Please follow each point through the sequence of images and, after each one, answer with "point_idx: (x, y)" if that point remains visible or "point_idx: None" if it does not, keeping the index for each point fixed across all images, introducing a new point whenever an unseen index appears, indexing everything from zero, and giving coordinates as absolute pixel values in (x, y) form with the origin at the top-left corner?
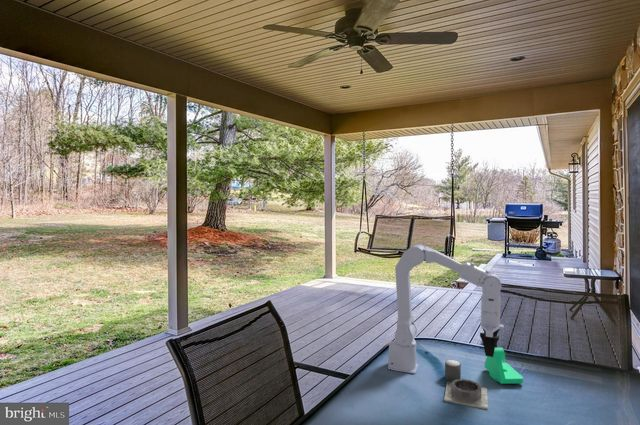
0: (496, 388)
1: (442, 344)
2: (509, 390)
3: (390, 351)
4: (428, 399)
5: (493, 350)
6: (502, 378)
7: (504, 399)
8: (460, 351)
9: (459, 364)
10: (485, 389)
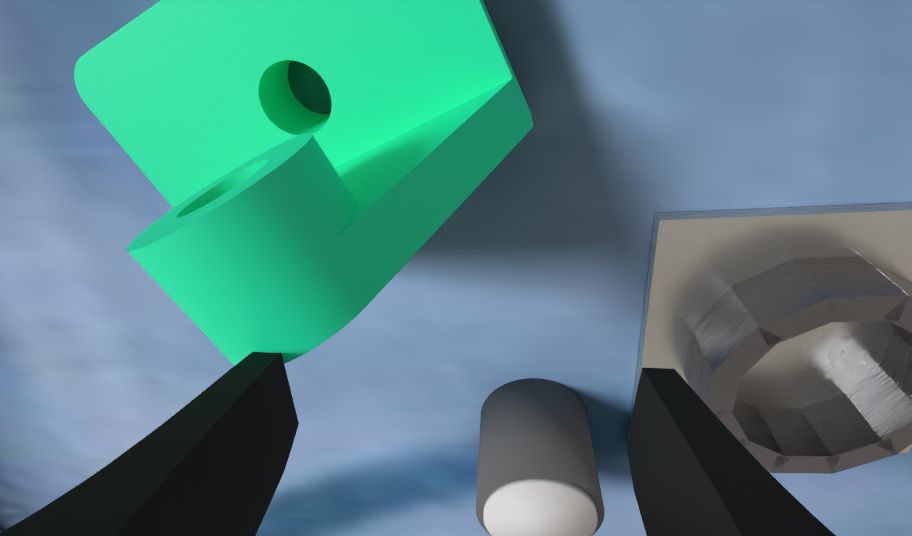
0: (590, 140)
1: (29, 484)
2: (591, 21)
3: None
4: (882, 502)
5: (747, 460)
6: (523, 110)
7: (805, 67)
8: (44, 396)
9: (555, 485)
10: (686, 230)
